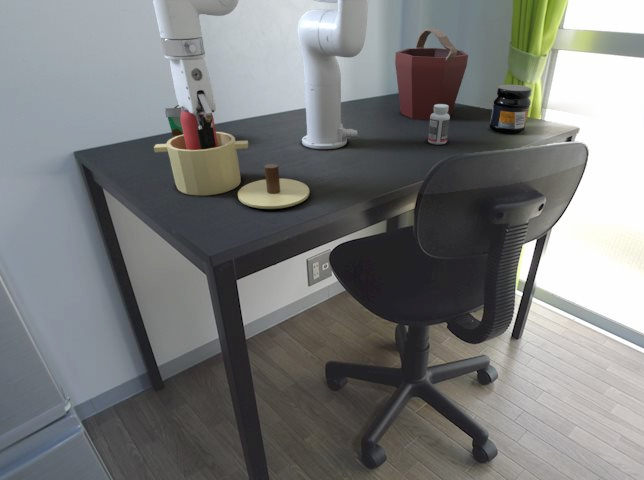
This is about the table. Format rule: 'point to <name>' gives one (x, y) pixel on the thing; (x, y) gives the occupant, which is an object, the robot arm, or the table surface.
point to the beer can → (193, 129)
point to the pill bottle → (439, 125)
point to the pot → (204, 165)
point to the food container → (174, 120)
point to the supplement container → (510, 109)
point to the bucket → (429, 76)
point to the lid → (273, 191)
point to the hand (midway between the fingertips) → (201, 142)
